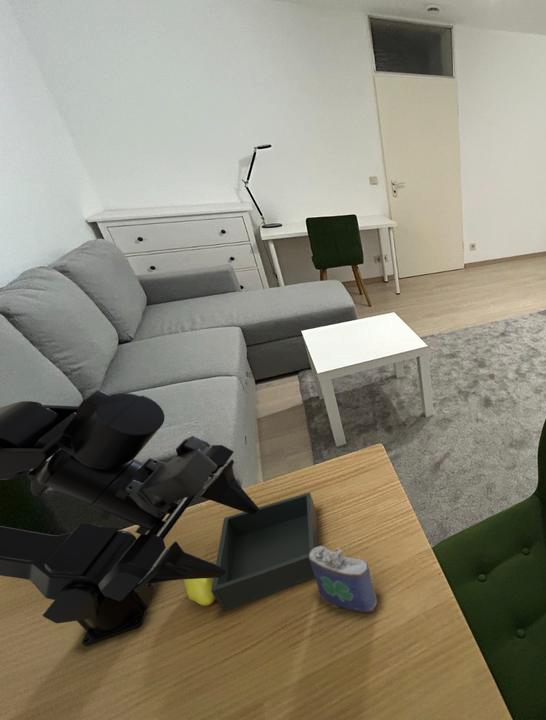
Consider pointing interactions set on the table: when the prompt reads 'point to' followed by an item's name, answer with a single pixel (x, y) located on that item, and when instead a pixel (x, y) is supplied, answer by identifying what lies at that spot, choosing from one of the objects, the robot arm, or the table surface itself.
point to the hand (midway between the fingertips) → (241, 540)
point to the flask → (343, 580)
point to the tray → (265, 551)
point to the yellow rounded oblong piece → (200, 590)
